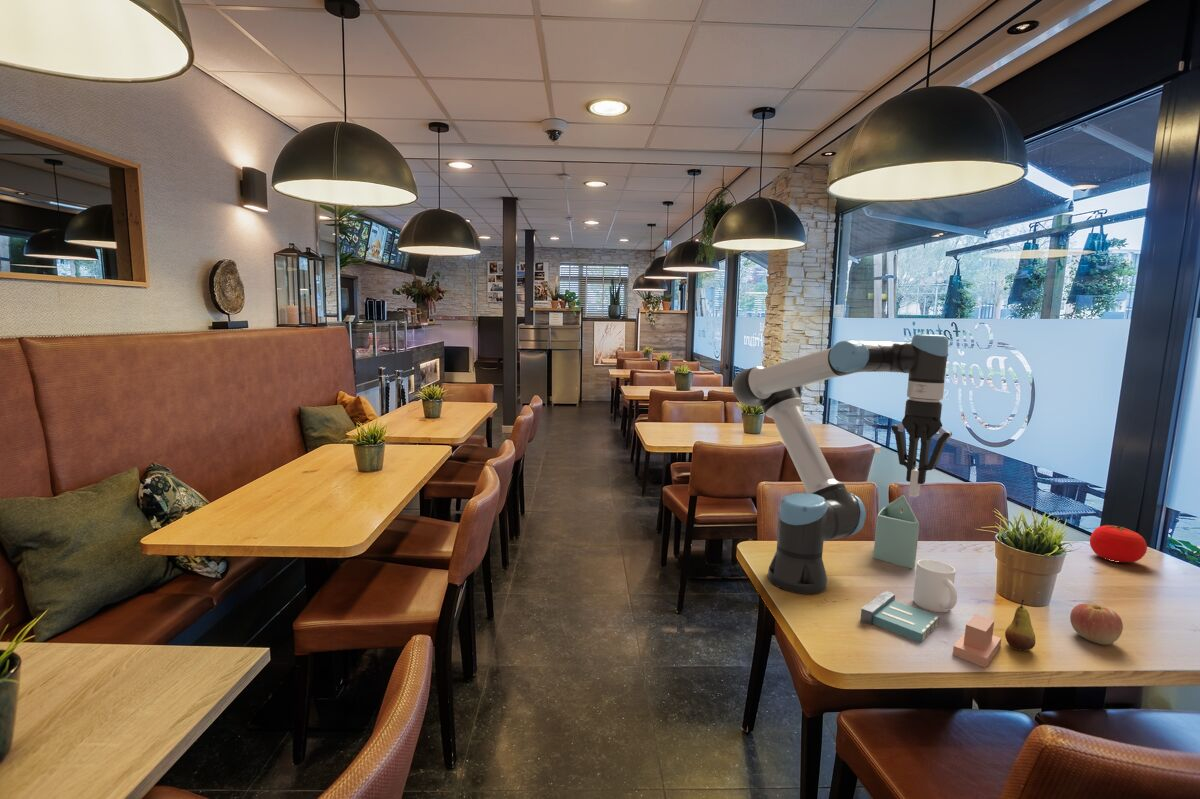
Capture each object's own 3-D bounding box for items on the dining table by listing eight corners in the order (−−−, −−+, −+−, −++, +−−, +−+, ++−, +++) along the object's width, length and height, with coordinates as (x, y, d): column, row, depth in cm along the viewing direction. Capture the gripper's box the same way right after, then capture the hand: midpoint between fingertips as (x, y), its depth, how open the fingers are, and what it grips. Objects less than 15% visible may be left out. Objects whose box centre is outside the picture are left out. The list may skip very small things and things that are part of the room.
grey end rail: (860, 621, 132) (861, 608, 132) (883, 602, 142) (885, 590, 142) (870, 625, 131) (872, 612, 130) (894, 606, 140) (895, 594, 140)
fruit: (1042, 655, 121) (1049, 602, 119) (1016, 655, 120) (1024, 602, 119) (1020, 641, 126) (1027, 590, 125) (996, 641, 126) (1003, 590, 124)
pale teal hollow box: (858, 547, 179) (864, 487, 177) (881, 547, 180) (887, 487, 178) (889, 569, 163) (896, 503, 161) (915, 569, 164) (922, 503, 162)
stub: (952, 654, 120) (955, 626, 119) (968, 635, 128) (971, 608, 127) (985, 667, 115) (989, 638, 115) (1000, 646, 124) (1003, 619, 123)
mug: (969, 621, 134) (974, 580, 133) (935, 621, 134) (940, 579, 133) (936, 597, 146) (941, 559, 145) (906, 597, 146) (910, 559, 144)
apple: (1106, 653, 122) (1111, 618, 121) (1059, 633, 130) (1064, 600, 129) (1128, 646, 126) (1133, 612, 125) (1081, 626, 134) (1086, 594, 133)
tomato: (1090, 549, 185) (1095, 517, 183) (1145, 562, 175) (1151, 528, 174) (1084, 558, 177) (1089, 524, 175) (1142, 572, 167) (1147, 536, 166)
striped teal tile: (861, 619, 133) (861, 610, 133) (880, 603, 142) (881, 595, 141) (921, 642, 124) (922, 633, 124) (938, 624, 132) (939, 615, 132)
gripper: (889, 397, 137) (880, 492, 139) (950, 404, 127) (938, 505, 130) (900, 395, 142) (891, 487, 145) (960, 401, 132) (948, 499, 135)
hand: (913, 495), depth 137 cm, fingers closed
